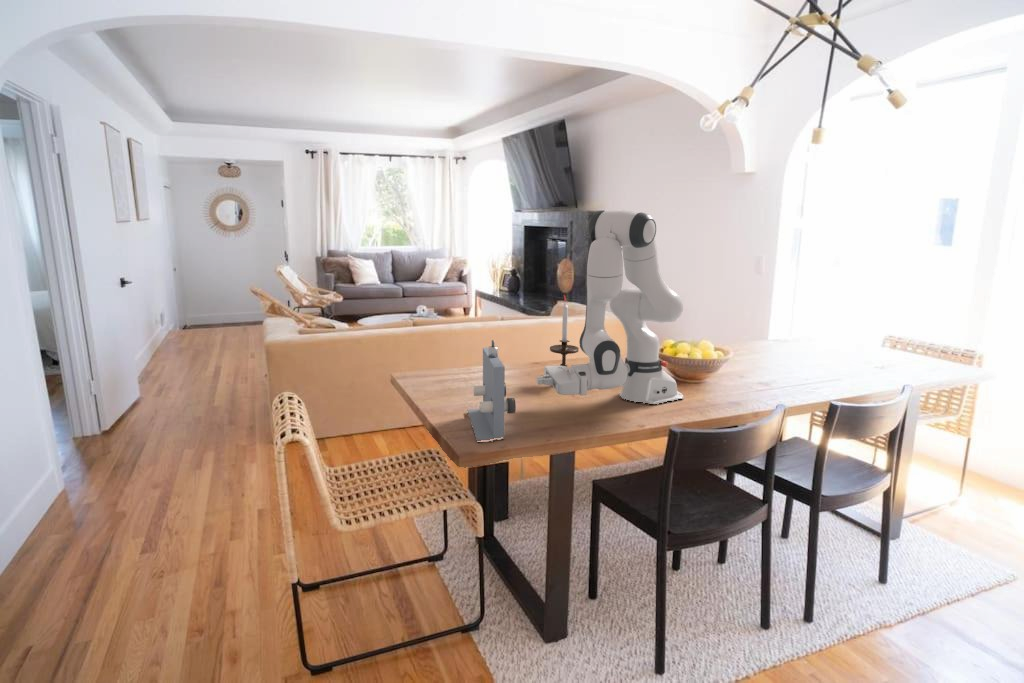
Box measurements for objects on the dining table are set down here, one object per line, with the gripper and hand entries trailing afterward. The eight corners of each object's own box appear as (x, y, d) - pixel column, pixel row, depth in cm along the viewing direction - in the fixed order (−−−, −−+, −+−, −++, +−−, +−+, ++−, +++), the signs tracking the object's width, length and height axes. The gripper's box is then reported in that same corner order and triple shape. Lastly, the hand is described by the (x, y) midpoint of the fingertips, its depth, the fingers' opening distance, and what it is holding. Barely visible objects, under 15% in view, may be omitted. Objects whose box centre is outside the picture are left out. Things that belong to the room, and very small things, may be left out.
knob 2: (512, 410, 175) (512, 395, 174) (515, 415, 170) (515, 400, 169) (479, 412, 173) (479, 397, 172) (481, 417, 168) (481, 402, 167)
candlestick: (546, 387, 221) (548, 295, 213) (551, 379, 231) (553, 291, 224) (575, 389, 218) (578, 296, 211) (579, 381, 229) (582, 292, 221)
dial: (496, 355, 178) (496, 339, 176) (498, 357, 175) (498, 341, 174) (487, 356, 177) (487, 339, 176) (489, 358, 174) (489, 341, 173)
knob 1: (503, 394, 190) (503, 380, 189) (506, 398, 186) (506, 384, 185) (473, 395, 188) (473, 381, 187) (474, 400, 184) (474, 386, 183)
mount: (491, 411, 193) (491, 346, 189) (504, 441, 168) (505, 367, 164) (467, 412, 192) (466, 347, 187) (477, 443, 167) (476, 368, 162)
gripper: (569, 359, 201) (530, 362, 198) (587, 378, 181) (544, 381, 179) (569, 377, 202) (530, 380, 200) (587, 397, 183) (544, 400, 180)
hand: (537, 380), depth 189 cm, fingers closed
